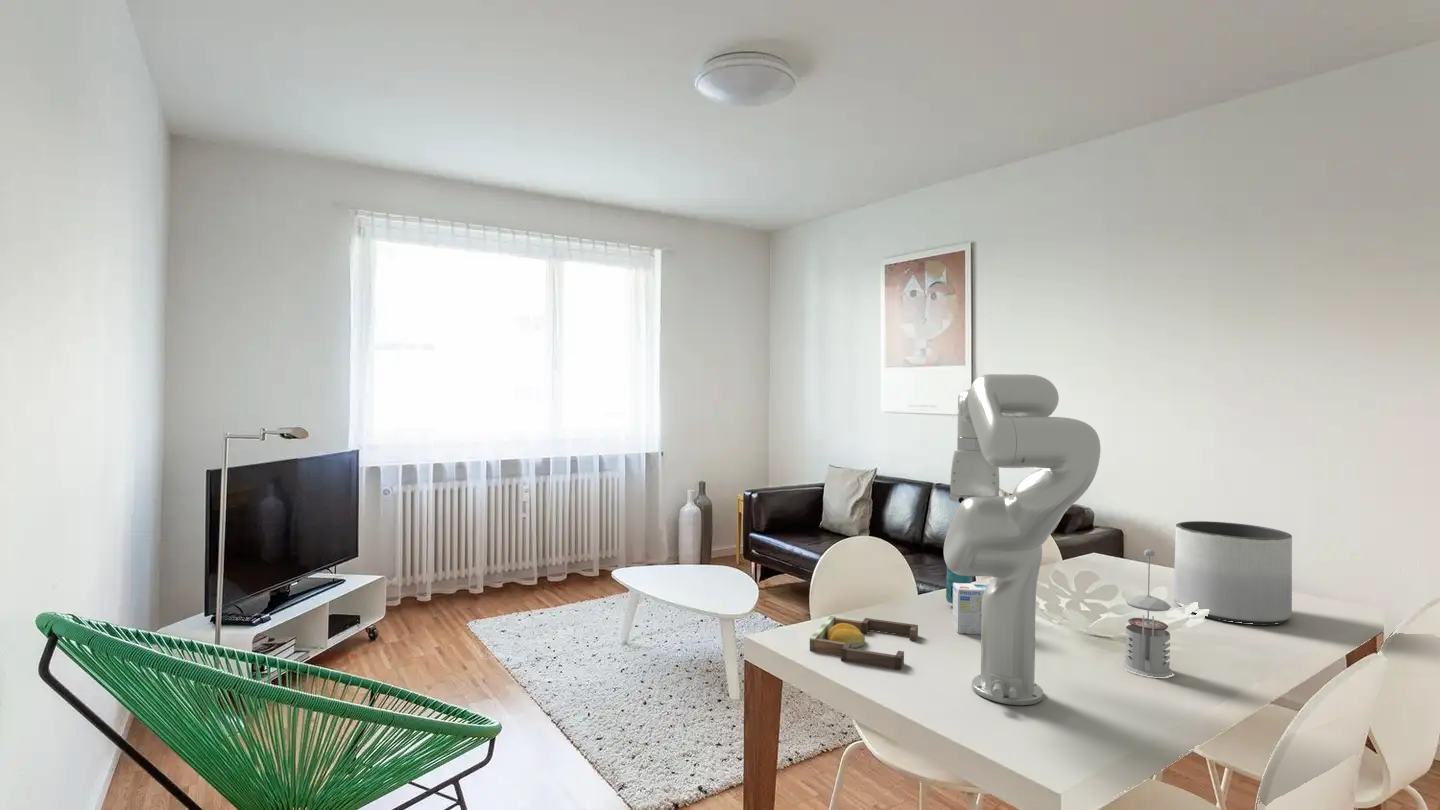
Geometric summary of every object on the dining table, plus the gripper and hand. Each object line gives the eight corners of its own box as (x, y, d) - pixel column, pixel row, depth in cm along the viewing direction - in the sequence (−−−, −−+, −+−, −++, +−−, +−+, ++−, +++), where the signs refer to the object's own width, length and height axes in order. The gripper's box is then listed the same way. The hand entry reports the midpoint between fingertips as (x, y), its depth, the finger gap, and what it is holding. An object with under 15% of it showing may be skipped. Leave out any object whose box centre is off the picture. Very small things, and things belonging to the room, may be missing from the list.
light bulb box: (995, 626, 175) (996, 583, 175) (1004, 636, 168) (1004, 590, 168) (951, 625, 176) (951, 581, 176) (957, 634, 169) (958, 588, 169)
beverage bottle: (954, 602, 195) (955, 529, 195) (976, 607, 190) (977, 533, 190) (940, 606, 191) (941, 532, 191) (962, 612, 186) (963, 536, 186)
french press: (1174, 666, 150) (1176, 548, 149) (1176, 685, 140) (1178, 558, 139) (1120, 657, 155) (1122, 542, 154) (1119, 675, 145) (1121, 552, 144)
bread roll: (832, 650, 158) (832, 632, 158) (824, 636, 167) (824, 619, 167) (869, 650, 158) (869, 632, 158) (859, 636, 167) (859, 619, 167)
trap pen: (900, 670, 146) (900, 656, 146) (805, 654, 154) (805, 641, 154) (917, 635, 168) (917, 623, 168) (833, 623, 176) (833, 612, 176)
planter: (1280, 635, 171) (1282, 543, 170) (1160, 610, 189) (1162, 527, 189) (1300, 613, 188) (1301, 530, 188) (1188, 593, 207) (1190, 517, 206)
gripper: (1011, 446, 159) (1010, 528, 159) (942, 443, 165) (941, 522, 165) (1010, 448, 152) (1009, 533, 152) (938, 445, 158) (937, 527, 158)
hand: (973, 527), depth 159 cm, fingers closed
